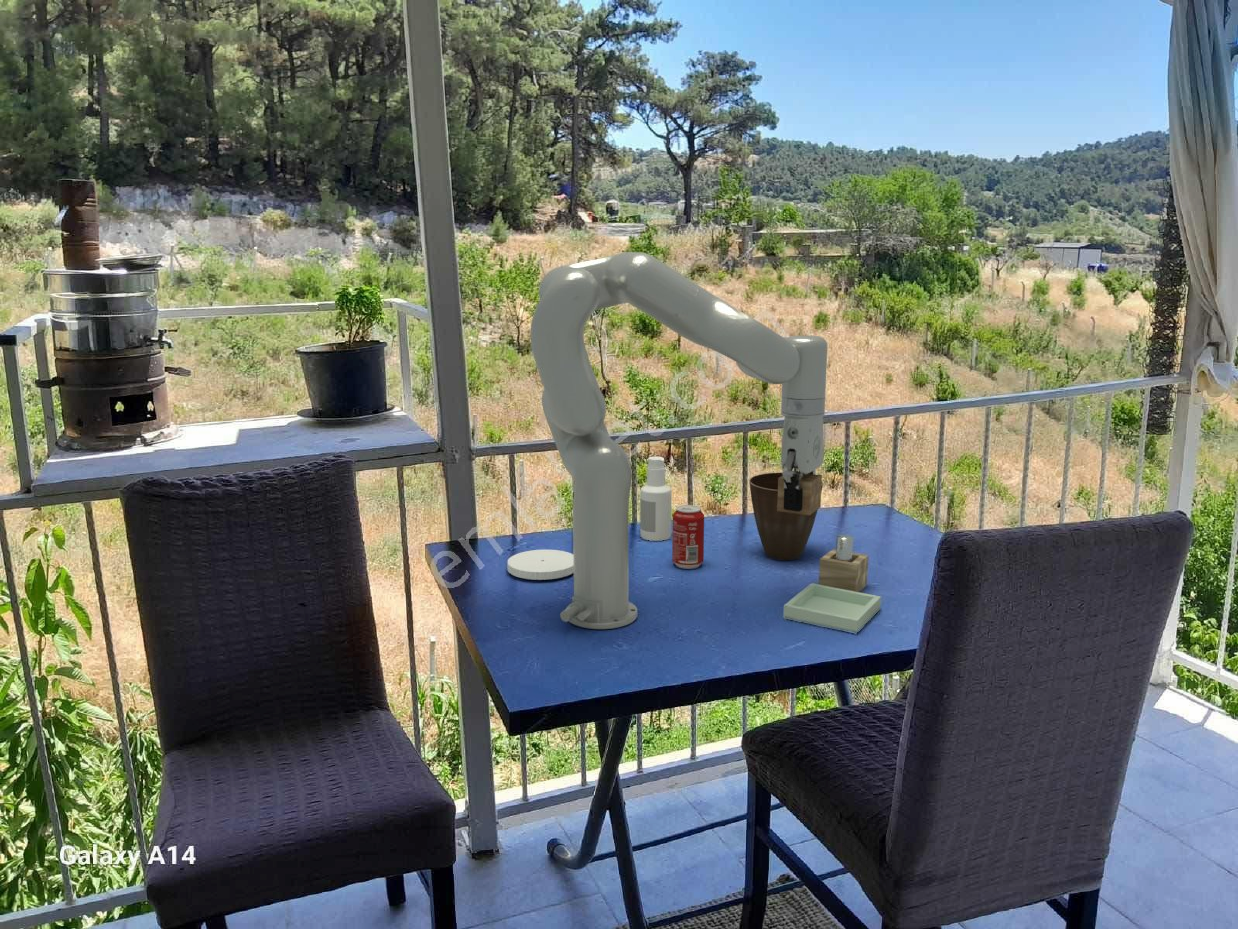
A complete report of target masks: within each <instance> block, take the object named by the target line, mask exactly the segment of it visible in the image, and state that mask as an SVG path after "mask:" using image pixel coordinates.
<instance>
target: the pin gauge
mask: <svg viewBox="0 0 1238 929" xmlns="http://www.w3.org/2000/svg"><path fill="white" fill-rule="evenodd" d="M835 543H836V545H835V546H836V547H835V550H836V560H841V561H847V562H852V553H854V551H853V547H854V536H853V535H849V534H837V535H836V542H835Z"/></svg>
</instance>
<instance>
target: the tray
mask: <svg viewBox="0 0 1238 929" xmlns="http://www.w3.org/2000/svg"><path fill="white" fill-rule="evenodd" d="M881 603H882V596H881V595H875V594H870V593H864V592H861V591H860V592H855V591H849V590H844V589H839V588H834V587H829V586H823V585H819V583H818V584H817V583H812V582H811V583H809V584H808V585H807V586H806V587H805V588H803V589H802V590H801V591H799V592H798V593H797V594H796V595H795V596H793V597H792V598H791V599H789V601H788V602H786V603H785V604H783V612H782V613H783V616H782V618H785V619H784V620H786V619H791V620H796V621H801V622H804V623H812V624H815V625H820V626H827V627H831V628H835V629H840V630H846V631H852V632H855V633H857V632H858V631H859V630H860V629H861V628H862V627H863V626H864V625H865V624H866V623H867V622H868V621H869V620H870V619H871V618H872V617H873V616H874V615H875V614H876V613H877V612H878V611H879V610H881V605H882V604H881ZM879 612H880V611H879ZM879 612H878V613H879ZM878 613H877V614H878ZM877 614H876V615H877ZM876 615H875V616H876ZM875 616H874V617H875ZM874 617H873V618H874ZM873 618H872V619H873ZM872 619H871V620H872ZM871 620H870V621H871ZM870 621H869V622H870ZM869 622H868V623H869ZM804 623H803V624H804ZM868 623H867V624H868ZM867 624H866V625H867ZM866 625H865V626H866ZM865 626H864V627H865Z"/></svg>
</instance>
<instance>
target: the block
mask: <svg viewBox="0 0 1238 929" xmlns="http://www.w3.org/2000/svg"><path fill="white" fill-rule="evenodd" d="M793 476H795V478H796V481H797V476H798V475H793ZM822 482H823V475H822V474H817V473H816V474H804V473H803V476H802V483H801V488H800V489H803V493H802V510H801V511H791V510H785V509H784V477H783V476H781V477H780V478H778V502H777V511H782V512H789V513H796V514H803V515H811V514H812V513H813V512H815V511H816V510H819V509H820V508H821V506H822V505H821V503H822V502H821V501H822V492H821V484H822Z"/></svg>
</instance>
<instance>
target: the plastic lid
mask: <svg viewBox="0 0 1238 929" xmlns="http://www.w3.org/2000/svg"><path fill="white" fill-rule="evenodd" d="M506 563H507V567H506V568H507V572H508V573H509V574H511V575H512V576H514V577H517V578H520V579H525V580H532V581H533V580H535V581H537V580H538V581H542V580H544V581H545V580H553V579H554V580H555V579H561V578H564V577H568V576H570V575H572V574H573V575H574V560H573V553H571V552H567V551H565V550H559V549H534V550H533V549H532V550H526V551H523V552H522V551H520V552H518V553H515V554H514V555H512V556H510V557H509V558H508V559H507V562H506Z"/></svg>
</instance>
